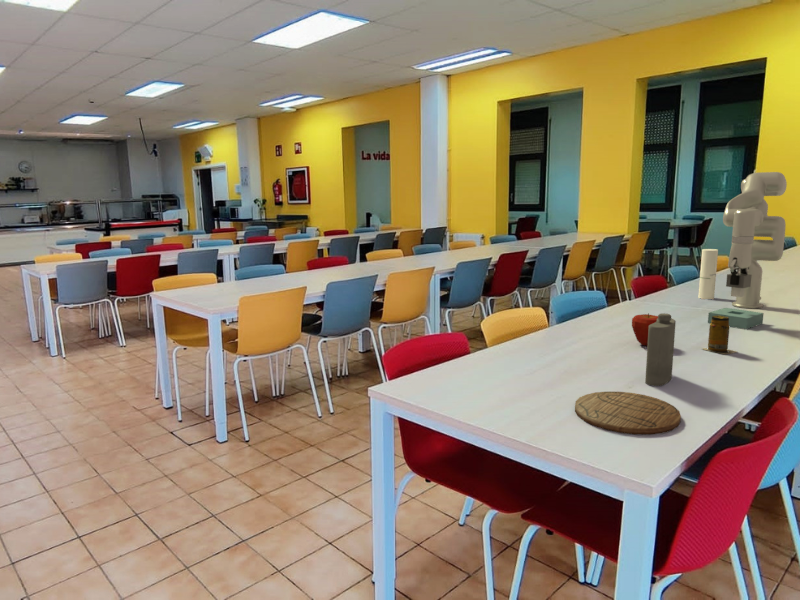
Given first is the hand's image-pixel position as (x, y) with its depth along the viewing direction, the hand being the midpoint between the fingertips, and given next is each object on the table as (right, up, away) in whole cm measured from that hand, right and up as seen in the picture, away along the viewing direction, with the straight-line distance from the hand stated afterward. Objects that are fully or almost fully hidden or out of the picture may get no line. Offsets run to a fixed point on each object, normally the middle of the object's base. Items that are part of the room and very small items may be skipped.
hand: (738, 283), depth 232 cm
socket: (+1, -17, +3) cm, 17 cm away
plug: (0, -5, +1) cm, 5 cm away
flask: (-61, -31, -63) cm, 93 cm away
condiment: (-28, -25, -35) cm, 51 cm away
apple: (-49, -24, -26) cm, 60 cm away
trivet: (-82, -36, -88) cm, 126 cm away
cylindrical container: (+18, -6, +57) cm, 60 cm away
